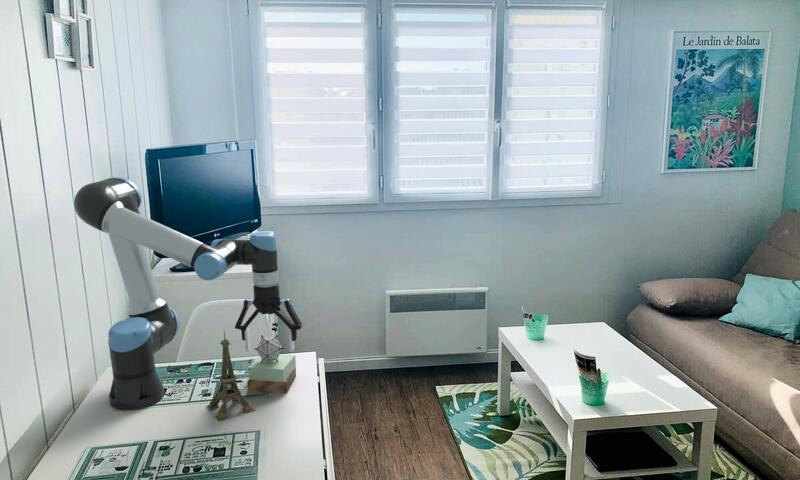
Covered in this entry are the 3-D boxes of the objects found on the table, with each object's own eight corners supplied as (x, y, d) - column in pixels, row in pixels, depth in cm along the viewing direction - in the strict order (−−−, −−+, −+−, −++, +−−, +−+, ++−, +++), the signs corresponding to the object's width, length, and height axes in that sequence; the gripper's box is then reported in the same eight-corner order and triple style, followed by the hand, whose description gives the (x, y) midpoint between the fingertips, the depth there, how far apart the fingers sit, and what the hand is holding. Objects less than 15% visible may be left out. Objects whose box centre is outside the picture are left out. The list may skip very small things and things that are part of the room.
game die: (275, 369, 203) (292, 341, 205) (270, 371, 195) (288, 342, 196) (251, 355, 204) (268, 327, 205) (245, 355, 196) (263, 326, 197)
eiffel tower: (241, 396, 195) (235, 317, 189) (254, 410, 186) (249, 328, 180) (206, 406, 189) (199, 325, 183) (218, 421, 180) (211, 336, 175)
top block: (249, 379, 197) (248, 367, 197) (262, 364, 208) (262, 353, 207) (283, 382, 196) (283, 369, 195) (295, 366, 206) (295, 355, 205)
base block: (248, 393, 197) (247, 381, 196) (259, 376, 209) (258, 364, 208) (287, 394, 196) (286, 382, 195) (296, 377, 208) (295, 365, 207)
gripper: (221, 287, 192) (226, 354, 197) (304, 287, 191) (308, 355, 195) (229, 279, 199) (234, 344, 204) (309, 280, 198) (312, 345, 203)
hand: (270, 350), depth 200 cm, fingers open, 13 cm apart
